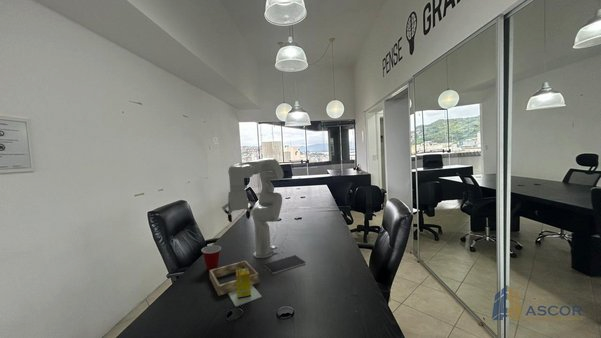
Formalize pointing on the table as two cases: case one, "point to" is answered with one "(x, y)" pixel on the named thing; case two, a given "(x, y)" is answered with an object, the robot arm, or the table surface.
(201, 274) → the table surface
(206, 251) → the plastic cup
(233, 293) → the mat
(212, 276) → the wooden frame
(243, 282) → the supplement box
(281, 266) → the notebook
